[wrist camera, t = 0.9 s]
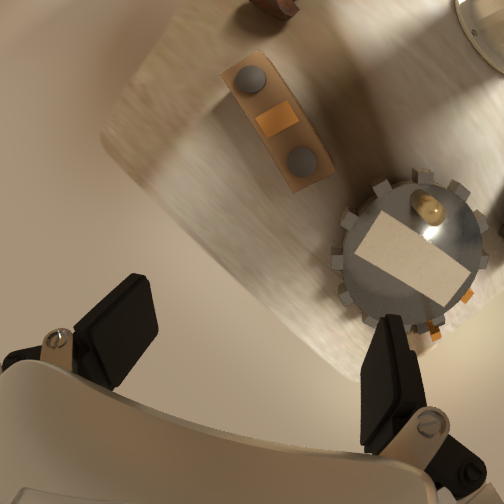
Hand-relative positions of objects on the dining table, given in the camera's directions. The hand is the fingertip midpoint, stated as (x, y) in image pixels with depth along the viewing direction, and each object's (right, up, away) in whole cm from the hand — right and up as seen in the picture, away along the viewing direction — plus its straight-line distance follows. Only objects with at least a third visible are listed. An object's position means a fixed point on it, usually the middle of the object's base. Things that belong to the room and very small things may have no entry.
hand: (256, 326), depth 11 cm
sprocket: (+17, +3, +16) cm, 24 cm away
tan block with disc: (+3, +16, +16) cm, 23 cm away
